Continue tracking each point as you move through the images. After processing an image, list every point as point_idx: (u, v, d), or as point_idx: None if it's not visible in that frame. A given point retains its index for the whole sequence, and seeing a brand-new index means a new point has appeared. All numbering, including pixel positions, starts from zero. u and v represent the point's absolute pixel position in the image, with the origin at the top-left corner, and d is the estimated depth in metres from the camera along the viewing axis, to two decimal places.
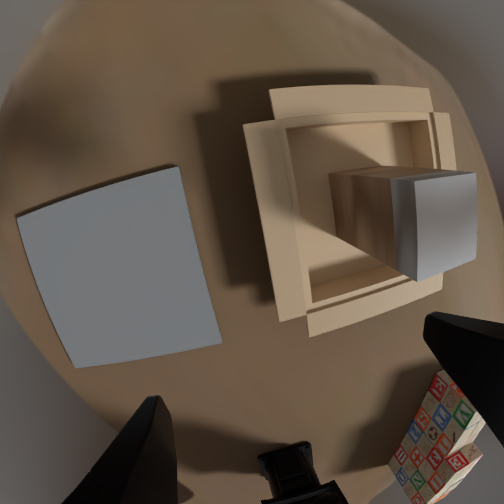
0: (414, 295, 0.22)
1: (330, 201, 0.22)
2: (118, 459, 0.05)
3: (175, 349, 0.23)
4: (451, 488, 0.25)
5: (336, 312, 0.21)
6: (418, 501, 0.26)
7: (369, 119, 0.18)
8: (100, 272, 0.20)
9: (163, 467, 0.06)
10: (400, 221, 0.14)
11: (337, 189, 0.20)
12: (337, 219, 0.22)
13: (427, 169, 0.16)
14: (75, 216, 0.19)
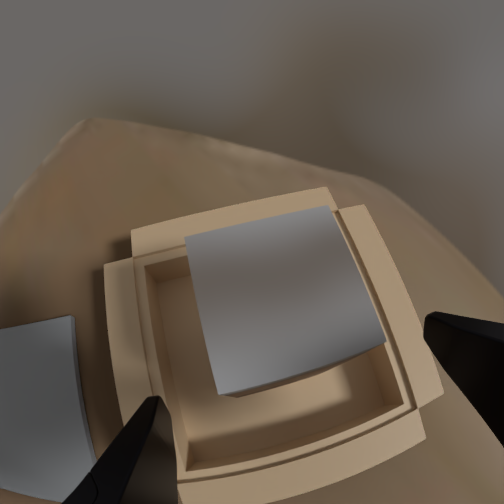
0: (370, 459, 0.11)
1: None
2: (118, 459, 0.05)
3: (61, 498, 0.11)
4: None
5: (223, 487, 0.11)
6: None
7: None
8: (7, 400, 0.14)
9: (163, 467, 0.06)
10: None
11: None
12: None
13: None
14: None
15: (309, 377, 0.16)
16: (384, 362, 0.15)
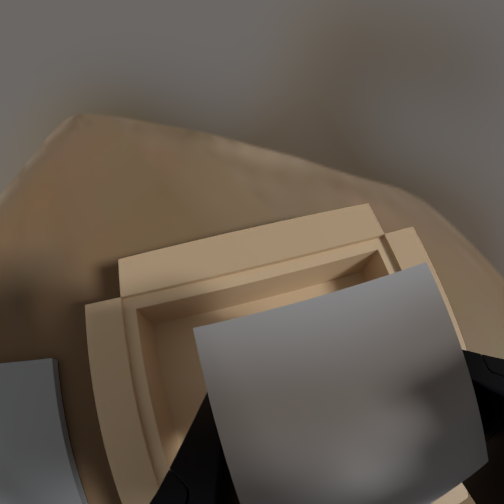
0: None
1: None
2: (201, 452, 0.05)
3: None
4: None
5: None
6: None
7: (267, 276, 0.14)
8: None
9: None
10: None
11: None
12: None
13: None
14: None
15: None
16: None
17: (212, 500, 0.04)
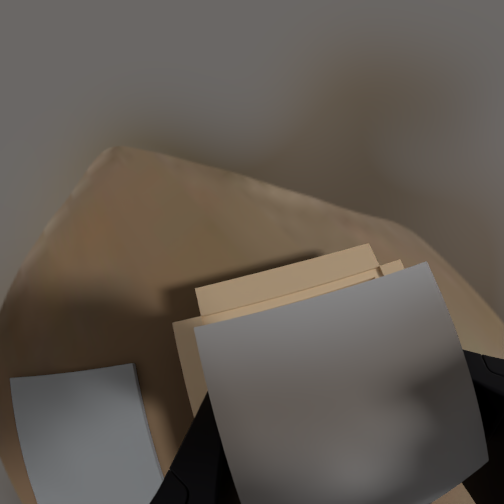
0: None
1: None
2: (201, 452, 0.05)
3: None
4: None
5: None
6: None
7: (302, 298, 0.20)
8: (68, 441, 0.17)
9: None
10: None
11: None
12: None
13: None
14: (52, 390, 0.19)
15: None
16: None
17: (212, 500, 0.04)
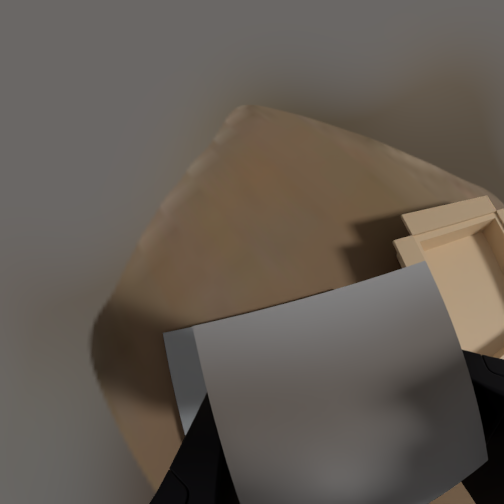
0: None
1: (456, 302, 0.22)
2: (201, 452, 0.05)
3: None
4: None
5: None
6: None
7: (464, 226, 0.22)
8: None
9: None
10: None
11: None
12: None
13: None
14: None
15: None
16: None
17: (212, 500, 0.04)
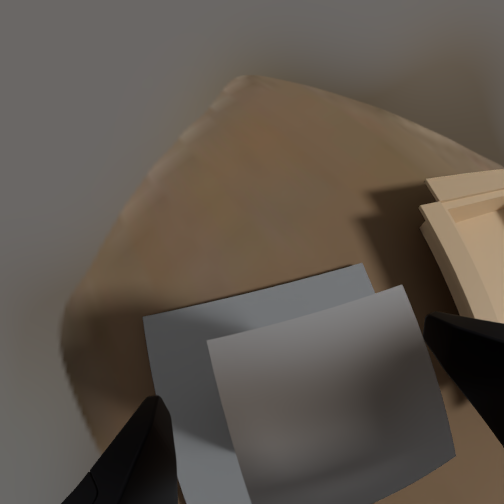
0: None
1: (487, 282, 0.18)
2: (118, 459, 0.05)
3: None
4: None
5: None
6: None
7: (491, 197, 0.18)
8: None
9: (163, 467, 0.06)
10: None
11: None
12: None
13: None
14: (240, 319, 0.17)
15: None
16: None
17: None
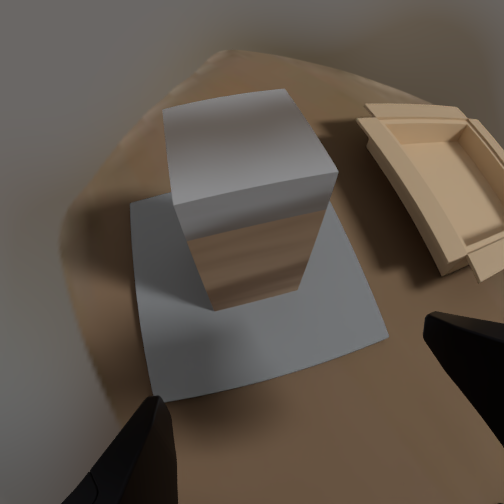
0: None
1: (436, 190, 0.22)
2: (118, 459, 0.05)
3: (329, 354, 0.16)
4: None
5: (489, 253, 0.15)
6: None
7: (433, 122, 0.22)
8: None
9: (163, 467, 0.06)
10: None
11: None
12: None
13: None
14: None
15: (288, 291, 0.17)
16: None
17: None
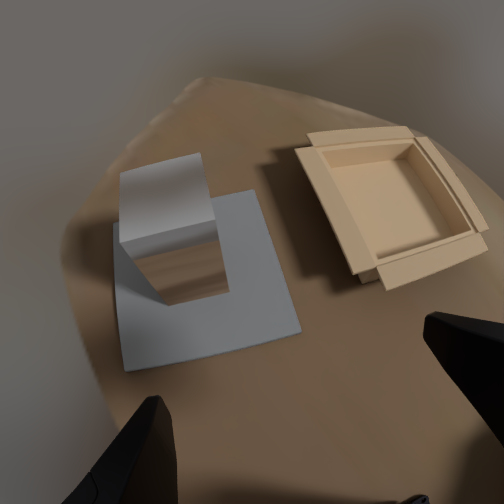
0: (466, 253, 0.22)
1: (369, 207, 0.27)
2: (118, 459, 0.05)
3: (250, 341, 0.22)
4: None
5: (402, 265, 0.21)
6: None
7: (373, 145, 0.28)
8: None
9: (163, 467, 0.06)
10: None
11: None
12: None
13: None
14: None
15: (221, 292, 0.23)
16: (454, 211, 0.25)
17: None
